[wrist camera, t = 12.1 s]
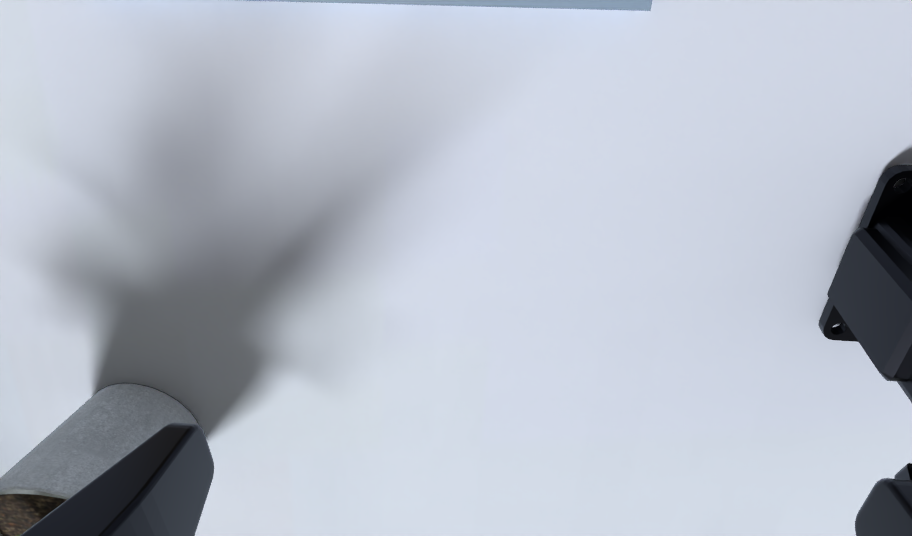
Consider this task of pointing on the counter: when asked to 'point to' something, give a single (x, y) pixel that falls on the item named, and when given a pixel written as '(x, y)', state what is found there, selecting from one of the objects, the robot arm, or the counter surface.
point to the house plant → (83, 451)
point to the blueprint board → (510, 3)
